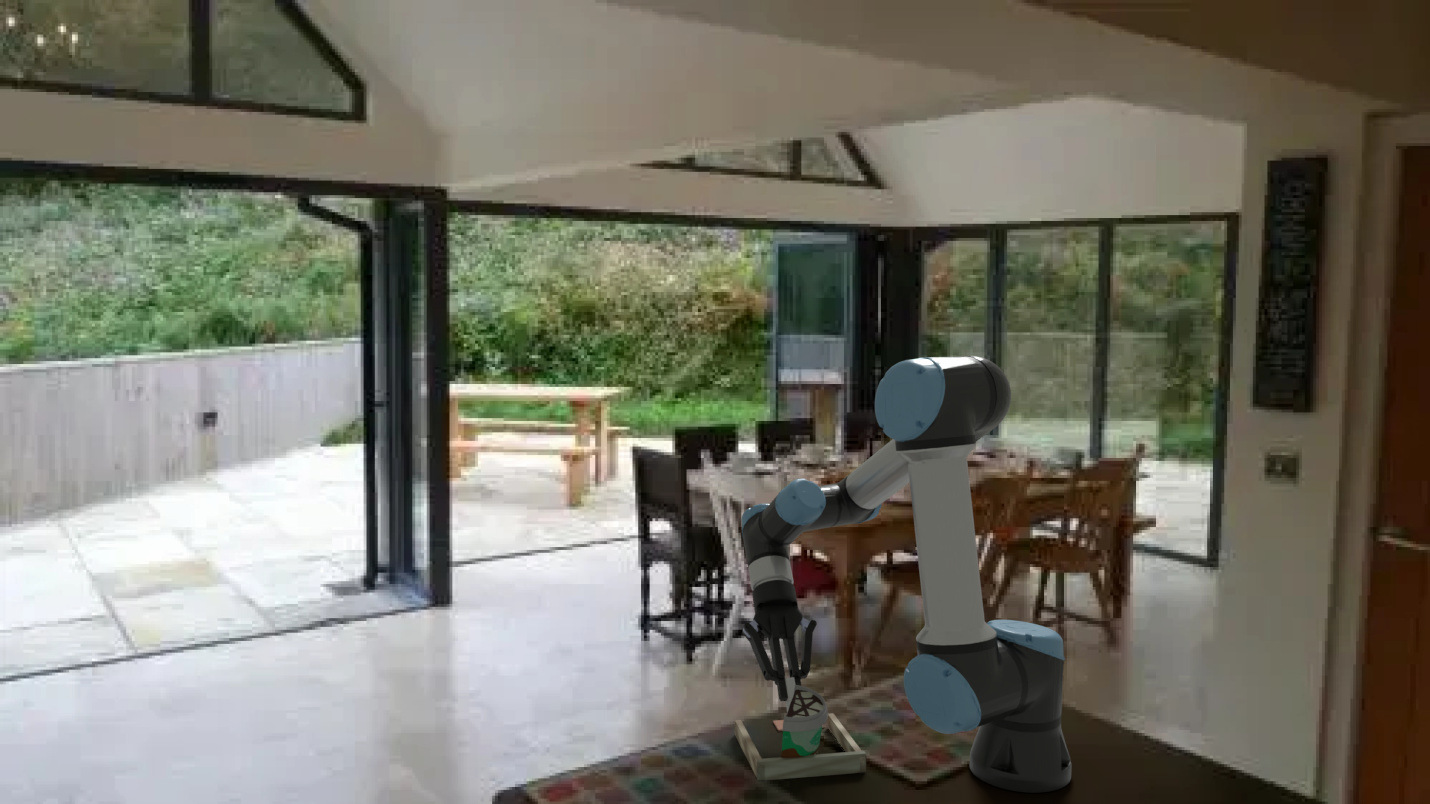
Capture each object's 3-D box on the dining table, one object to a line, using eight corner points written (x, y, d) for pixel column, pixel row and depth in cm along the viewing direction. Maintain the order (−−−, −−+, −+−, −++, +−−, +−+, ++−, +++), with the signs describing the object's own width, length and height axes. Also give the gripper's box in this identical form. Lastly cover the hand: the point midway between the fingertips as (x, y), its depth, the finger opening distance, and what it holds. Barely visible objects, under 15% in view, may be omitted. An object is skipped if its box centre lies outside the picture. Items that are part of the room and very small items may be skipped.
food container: (818, 785, 166) (824, 724, 164) (778, 778, 167) (783, 718, 165) (828, 746, 177) (833, 689, 175) (790, 740, 179) (795, 683, 177)
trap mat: (824, 728, 186) (824, 726, 186) (778, 731, 185) (778, 729, 185) (817, 719, 190) (817, 717, 190) (772, 722, 189) (772, 720, 188)
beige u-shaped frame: (865, 772, 169) (866, 753, 169) (758, 781, 166) (758, 762, 166) (832, 727, 186) (833, 710, 186) (734, 734, 183) (734, 717, 183)
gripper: (804, 596, 195) (828, 725, 181) (733, 599, 193) (751, 730, 179) (813, 576, 189) (838, 707, 175) (739, 579, 187) (759, 712, 173)
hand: (794, 719), depth 177 cm, fingers closed
